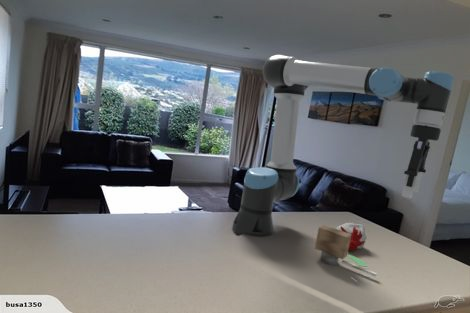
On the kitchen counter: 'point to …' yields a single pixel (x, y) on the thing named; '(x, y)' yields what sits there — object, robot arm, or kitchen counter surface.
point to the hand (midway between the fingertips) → (410, 194)
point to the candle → (354, 234)
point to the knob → (335, 247)
